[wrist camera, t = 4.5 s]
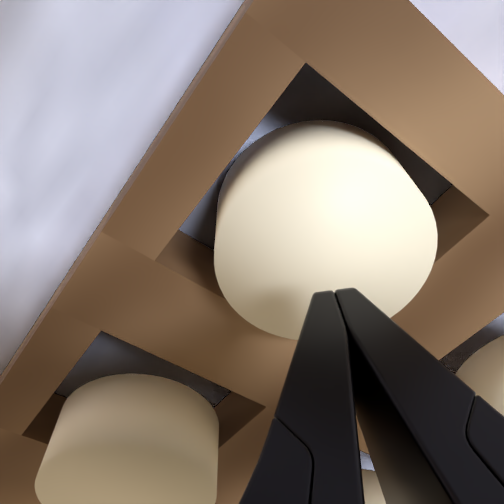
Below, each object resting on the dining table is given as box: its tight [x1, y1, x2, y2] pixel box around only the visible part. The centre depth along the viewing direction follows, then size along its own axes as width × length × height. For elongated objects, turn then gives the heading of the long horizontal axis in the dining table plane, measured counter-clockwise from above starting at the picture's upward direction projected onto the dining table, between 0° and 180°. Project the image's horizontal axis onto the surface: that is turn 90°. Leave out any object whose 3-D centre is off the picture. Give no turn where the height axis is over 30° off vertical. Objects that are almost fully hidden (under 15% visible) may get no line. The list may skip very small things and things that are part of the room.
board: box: [0, 0, 504, 504], centre depth 17 cm, size 18×24×2 cm
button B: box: [214, 120, 438, 340], centre depth 12 cm, size 5×5×2 cm
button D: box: [35, 374, 219, 504], centre depth 14 cm, size 5×5×2 cm
